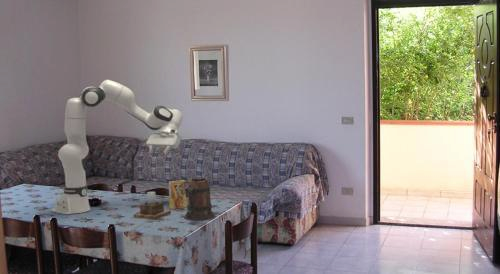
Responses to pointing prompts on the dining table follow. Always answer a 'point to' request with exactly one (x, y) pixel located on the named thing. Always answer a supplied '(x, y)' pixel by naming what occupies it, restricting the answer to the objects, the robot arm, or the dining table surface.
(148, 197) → the grey peg
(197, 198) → the tankard
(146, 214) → the slot stand
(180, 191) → the candy box
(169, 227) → the dining table surface
